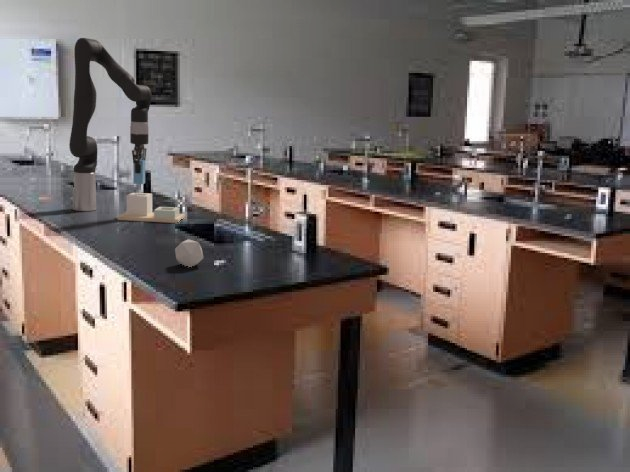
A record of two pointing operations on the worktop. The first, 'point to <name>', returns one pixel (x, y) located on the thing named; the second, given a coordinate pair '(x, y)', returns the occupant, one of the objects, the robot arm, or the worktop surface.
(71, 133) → the robot arm
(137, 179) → the plug
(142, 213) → the stepped block tray
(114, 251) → the worktop surface
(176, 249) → the grey faceted polyhedron
